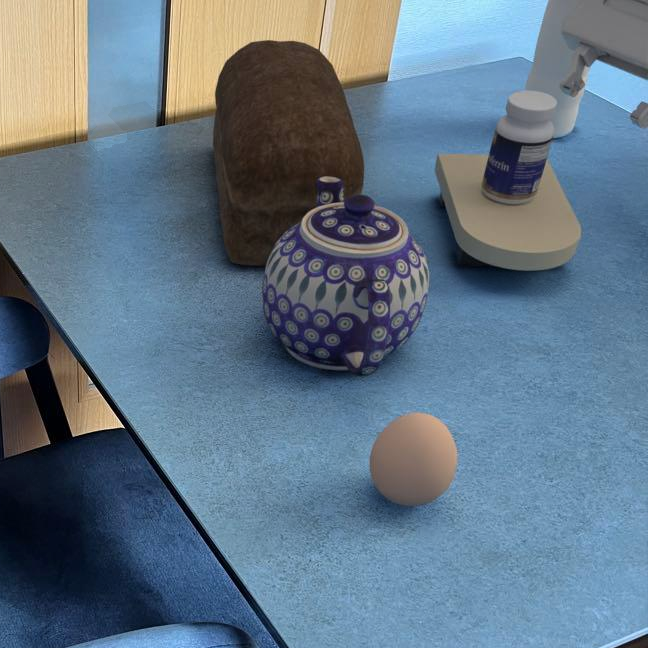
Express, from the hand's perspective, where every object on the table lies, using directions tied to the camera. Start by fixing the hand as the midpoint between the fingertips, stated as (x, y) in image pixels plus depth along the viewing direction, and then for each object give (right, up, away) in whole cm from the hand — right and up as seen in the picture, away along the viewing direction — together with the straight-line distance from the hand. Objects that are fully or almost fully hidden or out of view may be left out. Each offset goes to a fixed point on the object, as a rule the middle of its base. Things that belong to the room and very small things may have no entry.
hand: (600, 107), depth 107 cm
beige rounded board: (-9, -12, +5) cm, 16 cm away
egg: (-27, -42, -24) cm, 55 cm away
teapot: (-29, -26, -8) cm, 40 cm away
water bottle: (+5, +8, +25) cm, 27 cm away
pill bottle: (-9, -8, +2) cm, 12 cm away
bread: (-32, -6, +12) cm, 35 cm away
